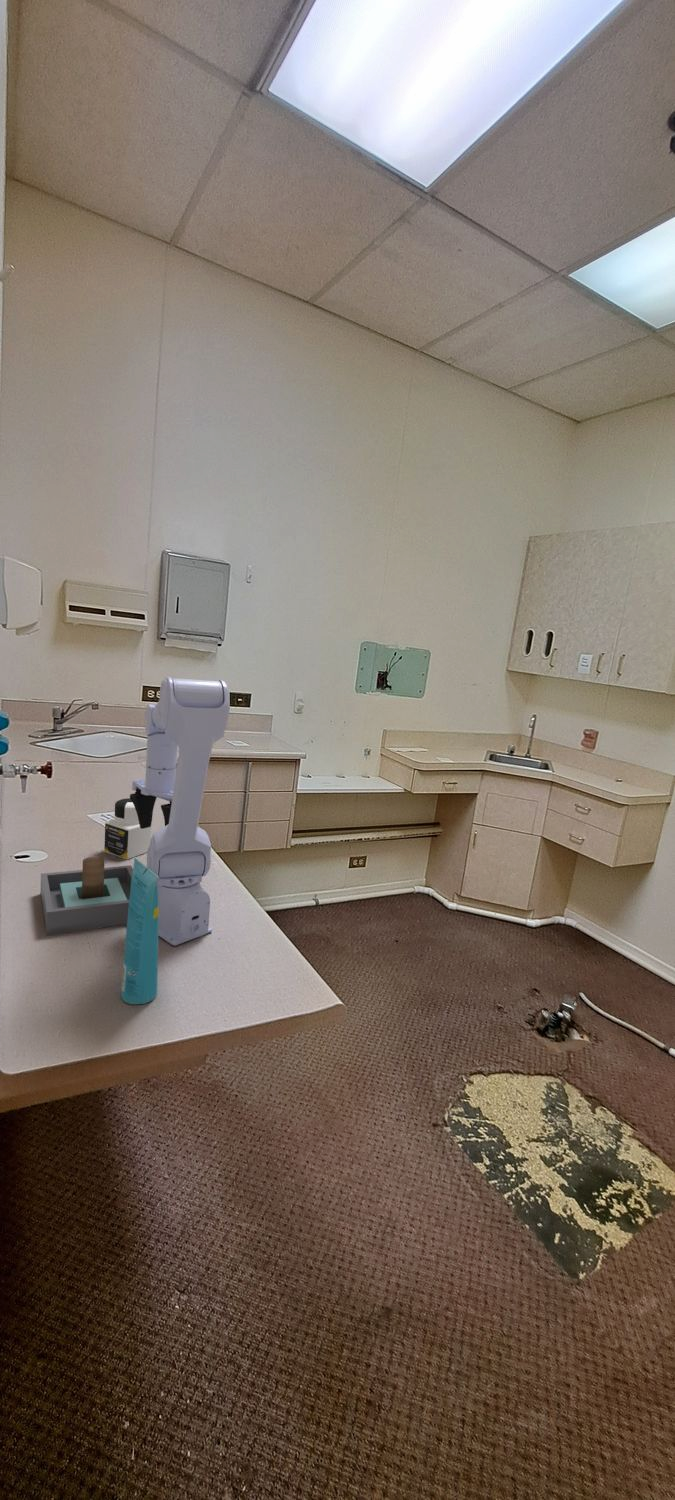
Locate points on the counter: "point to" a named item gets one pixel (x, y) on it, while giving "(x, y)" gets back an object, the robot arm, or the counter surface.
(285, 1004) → the counter surface
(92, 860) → the peg
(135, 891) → the tube
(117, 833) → the medicine bottle
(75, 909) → the tray
